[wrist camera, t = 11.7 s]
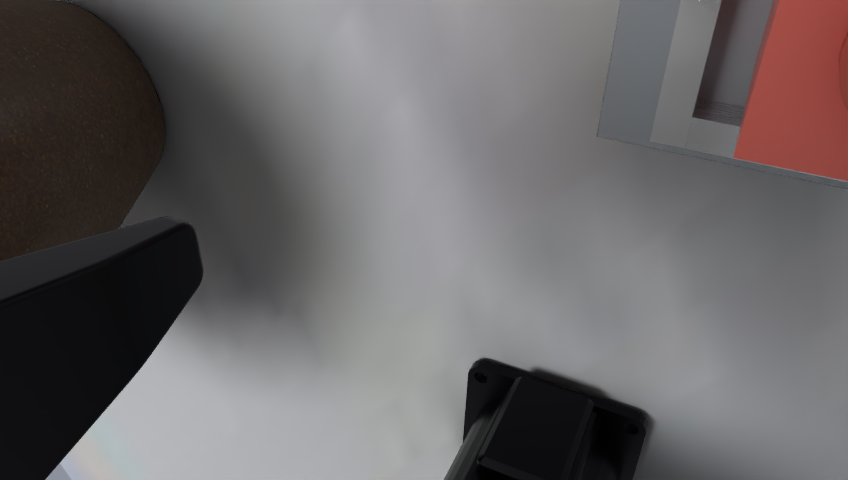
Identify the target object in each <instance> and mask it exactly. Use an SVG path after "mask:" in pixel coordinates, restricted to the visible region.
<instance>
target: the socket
mask: <svg viewBox="0 0 848 480" xmlns="http://www.w3.org/2000/svg"><path fill="white" fill-rule="evenodd" d="M723 2H724V0H681V2H680V6H679V11H678V15H677V20H676V24H675V29H674V33H673V38H672V42H671V47H670V51H669V56H668V60H667V65H666V69H665V74H664V79H663V83H662V88H661V92H660V97H659V101H658V106H657V110H656V115H655V119H654V124H653V128H652V133H651V137H650V141H651V142H656V143H660V144H665V145H670V146H675V147H680V148H684V149H689V150H694V151H699V152H704V153H708V154H713V155H718V156H723V157H728V158H733V156H734V152H735V148H736V143H737V139H738V135H739V131H740V126H741V122H742V118H743V113H744V109H745V106H739V105H734V104H729V103H723V102H718V101H712V100H707V99H701V98H699V96H700V92H701V88H702V84H703V80H704V76H705V72H706V68H707V64H708V61H709V57H710V53H711V49H712V45H713V41H714V37H715V33H716V29H717V25H718V21H719V17H720V14H721V10H722V6H723ZM733 159H737V158H733ZM737 160H742V159H737ZM742 161H747V160H742ZM747 162H752V161H747ZM752 163H756V162H752ZM757 164H761V163H757ZM761 165H766V164H761ZM766 166H771V165H766ZM771 167H776V166H771ZM776 168H781V167H776ZM781 169H785V170H790V171H795V172H800V173H805V174H809V175H814V176H819V177H824V178H829V179H834V180H838V181H843V182H848V181H845V180H840V179H835V178H830V177H825V176H820V175H815V174H810V173H806V172H801V171H796V170H791V169H786V168H781Z"/></svg>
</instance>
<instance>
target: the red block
mask: <svg viewBox="0 0 848 480" xmlns="http://www.w3.org/2000/svg"><path fill="white" fill-rule="evenodd" d="M733 158H737V159H742V160H747V161H752V162H756V163H761V164H766V165H771V166H776V167H781V168H786V169H791V170H796V171H801V172H806V173H810V174H815V175H820V176H825V177H830V178H835V179H840V180H845V181H848V0H773V3H772V7H771V10H770V14H769V17H768V21H767V24H766V28H765V31H764V35H763V38H762V41H761V45H760V48H759V52H758V55H757V59H756V62H755V66H754V70H753V75H752V79H751V83H750V88H749V92H748V96H747V100H746V105H745V109H744V113H743V118H742V122H741V126H740V131H739V135H738V139H737V143H736V148H735V152H734V156H733Z"/></svg>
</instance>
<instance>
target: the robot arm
mask: <svg viewBox="0 0 848 480" xmlns="http://www.w3.org/2000/svg"><path fill="white" fill-rule="evenodd" d="M202 277H203V264H202V259H201V254H200V248H199V243H198V238H197V233H196V230H195V228H194V227H193V225H191V224H190V223H188V222H185V221H182V220H179V219H176V218H172V217H161V218H157V219H153V220H150V221H146V222H142V223H139V224H135V225H131V226H128V227H124V228H120V229H117V230H113V231H109V232H106V233H102V234H98V235H95V236H91V237H88V238H84V239H80V240H77V241H73V242H69V243H66V244H62V245H58V246H55V247H51V248H47V249H44V250H40V251H36V252H33V253H29V254H25V255H22V256H18V257H15V258H11V259H7V260H4V261H0V480H45V479H46V478H47V477H48V476H49V475H50V473H51V472H52V471H53V470H54V469H55V468H56V467H57V465H58V464H59V463H60V462H61V461H62V460H63V459H64V457H65V456H66V455H67V454H68V453H69V452H70V450H71V449H72V448H73V447H74V446H75V445H76V443H77V442H78V441H79V440H80V439H81V438H82V436H83V435H84V434H85V433H86V432H87V431H88V429H89V428H90V427H91V426H92V425H93V424H94V423H95V421H96V420H97V419H98V418H99V417H100V416H101V414H102V413H103V412H104V411H105V410H106V409H107V407H108V406H109V405H110V404H111V403H112V402H113V400H114V399H115V398H116V397H117V396H118V395H119V393H120V392H121V391H122V390H123V389H124V388H125V387H126V385H127V384H128V383H129V382H130V381H131V380H132V378H133V377H134V376H135V375H136V373H137V372H138V371H139V370H140V369H141V367H142V366H143V365H144V363H145V362H146V361H147V359H148V358H149V357H150V355H151V354H152V352H153V351H154V350H155V348H156V347H157V345H158V344H159V342H160V341H161V340H162V338H163V337H164V335H165V334H166V333H167V331H168V330H169V328H170V327H171V325H172V324H173V323H174V321H175V320H176V318H177V317H178V315H179V314H180V313H181V311H182V310H183V308H184V307H185V305H186V304H187V303H188V301H189V300H190V298H191V297H192V296H193V294H194V293H195V291H196V290H197V288H198V287H199V285H200V283H201V281H202ZM481 373H483V374H485V376H484V375H482V374H481ZM628 423H630V424H634V425H635V426H631V425H629V424H628ZM647 427H648V421H647V419H646V417H645V416H644V415H643V414H641V413H639V412H637V411H635V410H632V409H629V408H626V407H623V406H620V405H617V404H614V403H611V402H608V401H605V400H602V399H599V398H596V397H593V396H590V395H587V394H584V393H581V392H578V391H575V390H572V389H568V388H565V387H562V386H559V385H556V384H553V383H550V382H547V381H544V380H541V379H538V378H535V377H532V376H529V375H526V374H523V373H520V372H517V371H514V370H511V369H508V368H505V367H502V366H499V365H496V364H493V363H490V362H487V361H483V360H479V361H476V362H474V363H473V365H472V367H471V369H470V370H469V373H468V384H467V397H466V410H465V422H464V435H463V444H462V446H461V448H460V450H459V452H458V454H457V456H456V458H455V459H454V461H453V463H452V465H451V467H450V469H449V471H448V473H447V475H446V477H445V479H444V480H632V479H633V476H634V472H635V469H636V465H637V462H638V459H639V455H640V452H641V448H642V445H643V442H644V438H645V435H646V431H647Z"/></svg>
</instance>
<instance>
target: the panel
mask: <svg viewBox="0 0 848 480" xmlns="http://www.w3.org/2000/svg"><path fill="white" fill-rule="evenodd" d="M680 2H681V0H621V1H620V7H619V12H618V18H617V24H616V30H615V35H614V41H613V47H612V53H611V58H610V64H609V70H608V75H607V81H606V87H605V93H604V98H603V104H602V110H601V116H600V121H599V127H598V133H597V137H602V138H606V139H611V140H616V141H621V142H625V143H630V144H635V145H640V146H644V147H649V148H654V149H659V150H663V151H668V152H673V153H678V154H682V155H687V156H692V157H696V158H701V159H706V160H711V161H715V162H720V163H725V164H730V165H734V166H739V167H744V168H749V169H753V170H758V171H763V172H768V173H772V174H777V175H782V176H787V177H791V178H796V179H801V180H806V181H810V182H815V183H820V184H825V185H829V186H834V187H839V188H844V189H848V182H843V181H838V180H834V179H829V178H824V177H819V176H814V175H809V174H805V173H800V172H795V171H790V170H785V169H781V168H776V167H771V166H766V165H761V164H757V163H752V162H747V161H742V160H737V159H733V158H728V157H723V156H718V155H713V154H708V153H704V152H699V151H694V150H689V149H684V148H680V147H675V146H670V145H665V144H660V143H656V142H651V141H650V137H651V133H652V128H653V124H654V119H655V115H656V110H657V106H658V101H659V97H660V92H661V88H662V83H663V79H664V74H665V69H666V65H667V60H668V56H669V51H670V47H671V42H672V38H673V33H674V29H675V24H676V20H677V15H678V11H679V6H680ZM772 3H773V0H724V2H723V6H722V10H721V14H720V17H719V21H718V25H717V29H716V33H715V37H714V41H713V45H712V49H711V53H710V57H709V61H708V64H707V68H706V72H705V76H704V80H703V84H702V88H701V92H700V96H699V98H701V99H707V100H712V101H718V102H723V103H729V104H734V105H739V106H745V105H746V100H747V96H748V92H749V88H750V83H751V79H752V75H753V70H754V66H755V62H756V59H757V55H758V52H759V48H760V45H761V41H762V38H763V35H764V31H765V28H766V24H767V21H768V17H769V14H770V10H771V7H772Z"/></svg>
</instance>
